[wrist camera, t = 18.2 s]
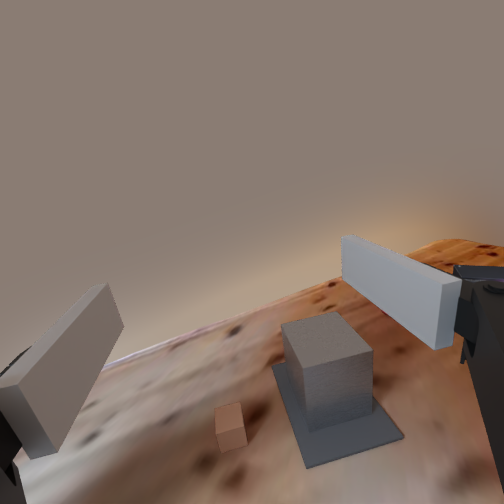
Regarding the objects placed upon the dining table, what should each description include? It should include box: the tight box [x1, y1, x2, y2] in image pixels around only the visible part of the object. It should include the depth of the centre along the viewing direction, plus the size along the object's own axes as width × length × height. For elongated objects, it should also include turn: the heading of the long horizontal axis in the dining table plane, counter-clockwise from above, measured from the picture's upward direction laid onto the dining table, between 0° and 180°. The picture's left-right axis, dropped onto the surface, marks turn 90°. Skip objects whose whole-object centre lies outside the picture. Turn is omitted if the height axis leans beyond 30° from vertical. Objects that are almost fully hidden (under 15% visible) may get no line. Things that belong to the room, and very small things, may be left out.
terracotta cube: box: [215, 402, 248, 453], centre depth 37 cm, size 4×4×4 cm
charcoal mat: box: [272, 362, 404, 469], centre depth 41 cm, size 14×18×1 cm
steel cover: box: [281, 311, 373, 433], centre depth 39 cm, size 10×10×12 cm
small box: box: [453, 265, 504, 283], centre depth 53 cm, size 11×6×10 cm, turn 65°
